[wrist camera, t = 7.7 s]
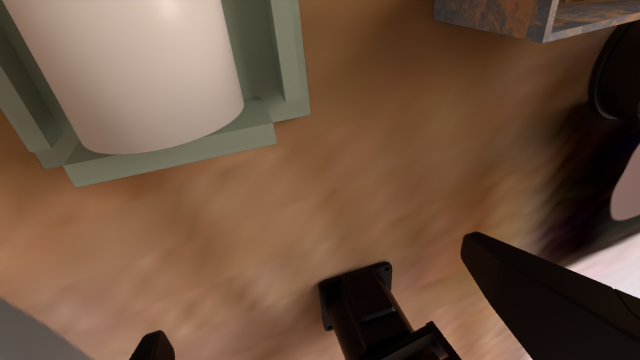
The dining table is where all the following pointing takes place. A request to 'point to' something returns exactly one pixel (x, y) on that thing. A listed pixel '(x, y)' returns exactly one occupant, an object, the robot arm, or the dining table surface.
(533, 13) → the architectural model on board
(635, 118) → the french press
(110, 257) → the dining table surface
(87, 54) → the roll
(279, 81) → the holder
